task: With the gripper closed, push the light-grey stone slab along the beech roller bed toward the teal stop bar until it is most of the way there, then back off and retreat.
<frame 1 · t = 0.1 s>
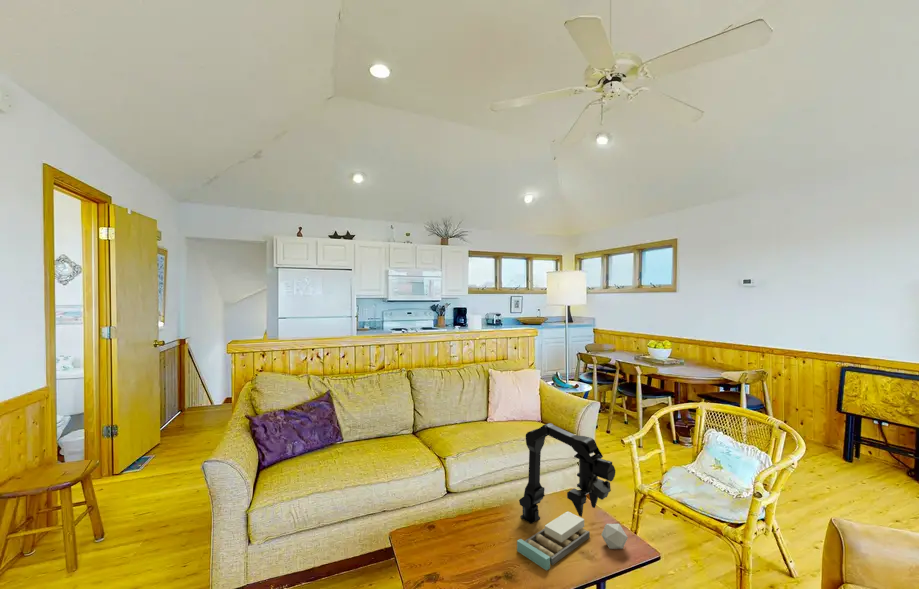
hand: (587, 511, 149), 15 cm above the table, fingers open, 9 cm apart
die: (614, 546, 150), on the table
stop bar: (533, 559, 143), on the table
slab: (564, 526, 156), point 5 cm above the table, slide at 0.0 cm
roller bed: (557, 542, 153), on the table
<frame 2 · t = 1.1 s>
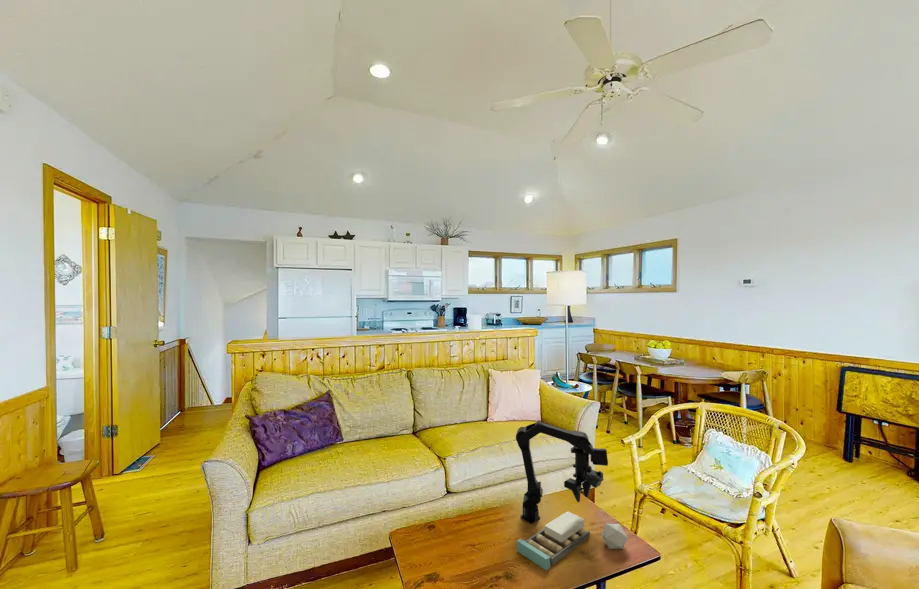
hand: (582, 499, 165), 11 cm above the table, fingers open, 6 cm apart
nothing on the table moved.
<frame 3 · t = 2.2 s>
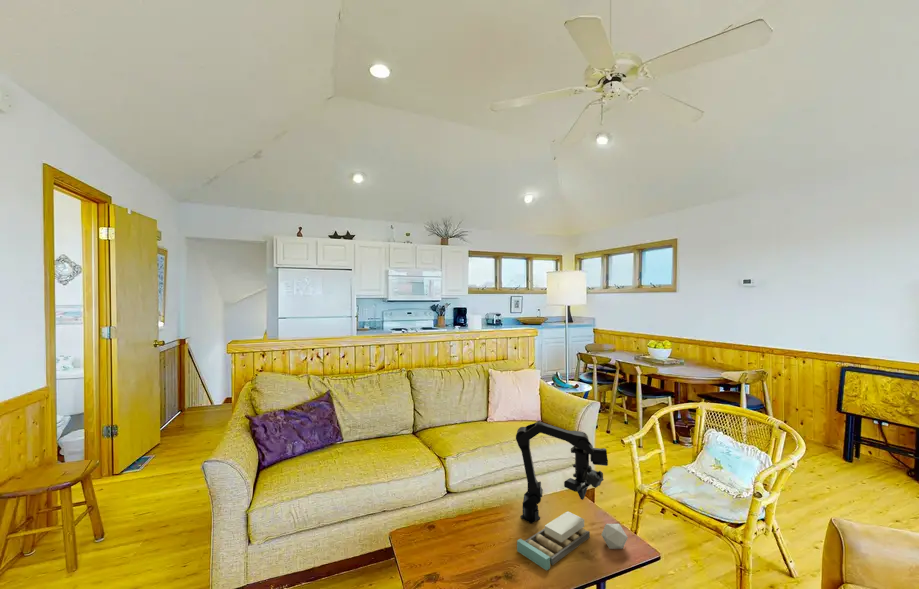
hand: (582, 499, 165), 11 cm above the table, fingers closed
nothing on the table moved.
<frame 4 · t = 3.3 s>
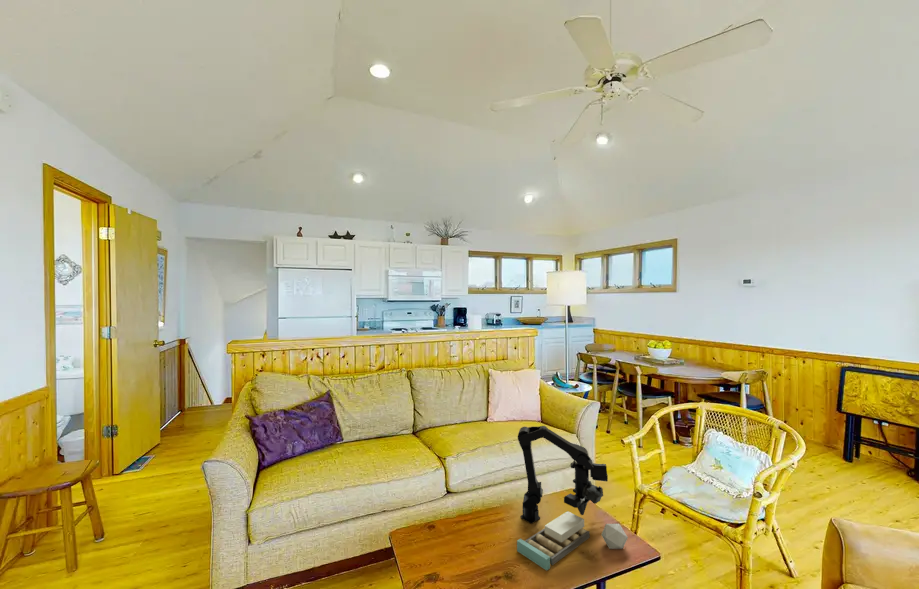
hand: (582, 514, 165), 4 cm above the table, fingers closed
nothing on the table moved.
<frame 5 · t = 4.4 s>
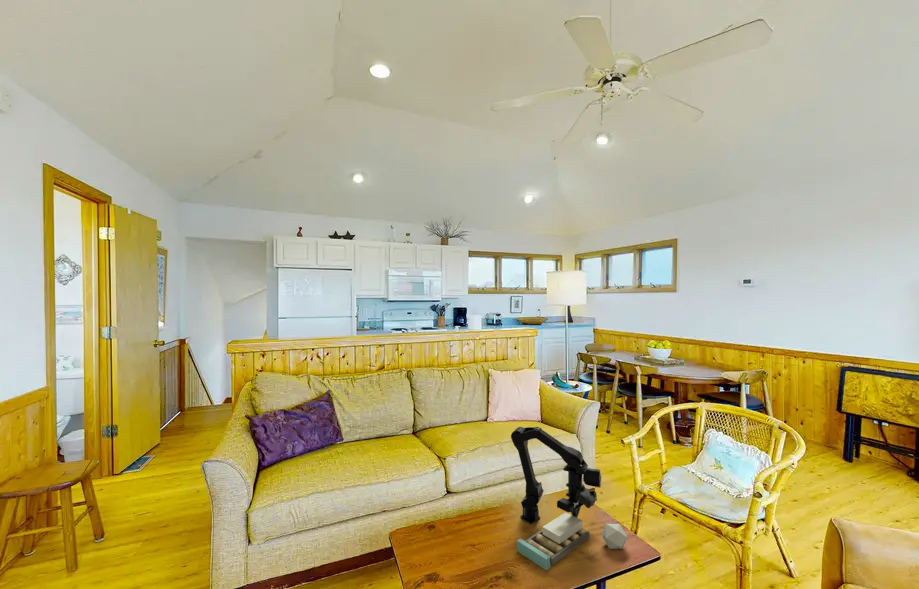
hand: (575, 519, 161), 4 cm above the table, fingers closed
slab: (562, 527, 155), point 5 cm above the table, slide at 1.4 cm, touching gripper
everything else where it was.
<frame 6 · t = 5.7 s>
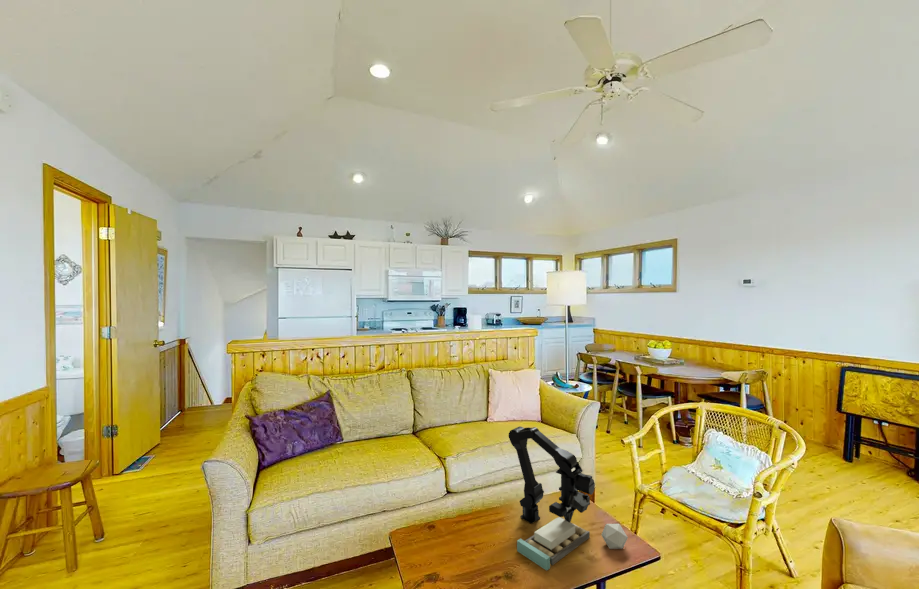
hand: (568, 523, 158), 4 cm above the table, fingers closed
slab: (555, 532, 152), point 5 cm above the table, slide at 6.5 cm, touching gripper
everything else where it was.
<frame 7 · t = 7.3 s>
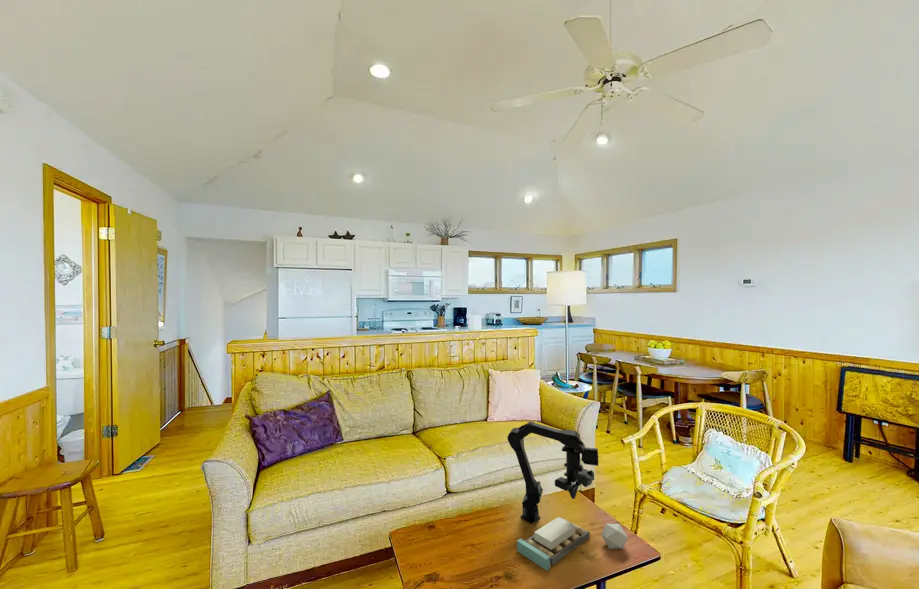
hand: (573, 498, 164), 12 cm above the table, fingers closed
slab: (555, 532, 152), point 5 cm above the table, slide at 6.5 cm
everything else where it was.
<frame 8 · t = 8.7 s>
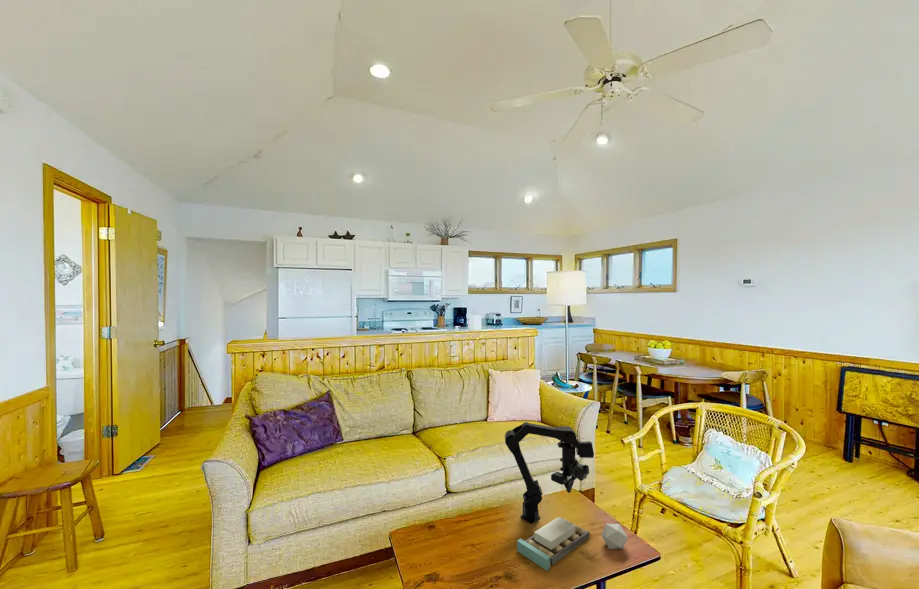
hand: (569, 492, 169), 12 cm above the table, fingers closed
nothing on the table moved.
at the end: slab slide at 6.5 cm; slab touching nothing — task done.
